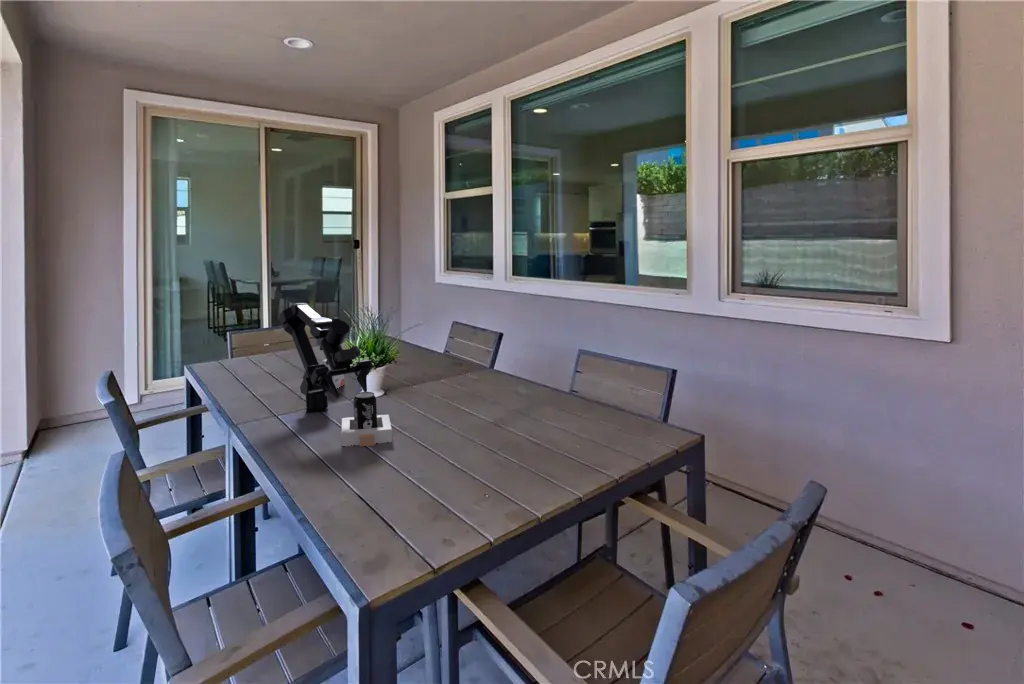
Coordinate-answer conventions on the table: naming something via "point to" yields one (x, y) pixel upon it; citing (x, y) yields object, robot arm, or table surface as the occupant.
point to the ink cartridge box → (336, 377)
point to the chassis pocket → (366, 432)
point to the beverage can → (365, 410)
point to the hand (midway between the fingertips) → (352, 394)
